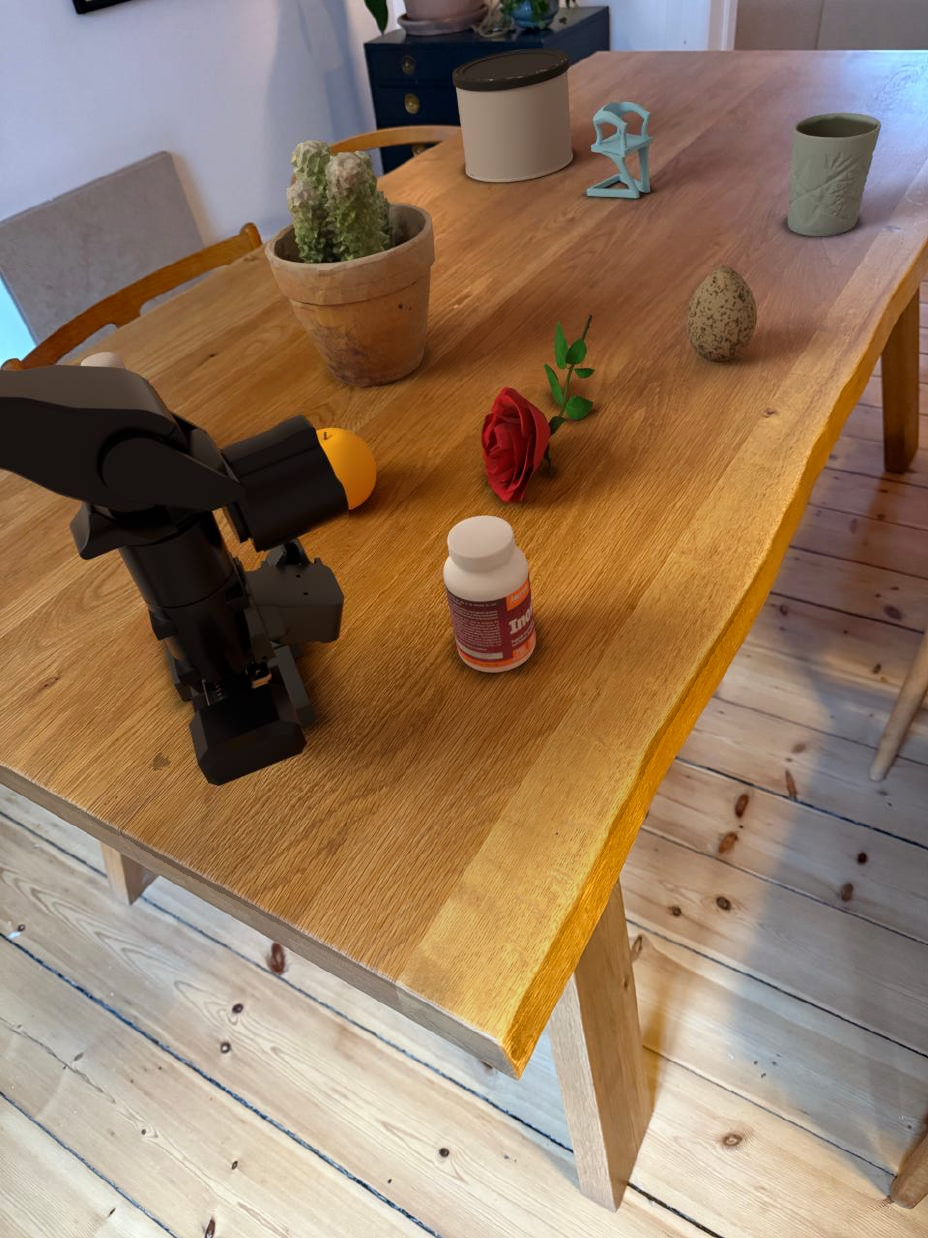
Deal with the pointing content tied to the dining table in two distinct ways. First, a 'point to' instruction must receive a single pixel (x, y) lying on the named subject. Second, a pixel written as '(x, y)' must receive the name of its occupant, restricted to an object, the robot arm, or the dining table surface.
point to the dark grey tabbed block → (291, 685)
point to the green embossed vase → (829, 171)
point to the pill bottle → (489, 595)
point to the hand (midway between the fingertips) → (263, 739)
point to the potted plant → (354, 267)
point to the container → (515, 114)
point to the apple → (350, 463)
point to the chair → (622, 150)
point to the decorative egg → (721, 315)
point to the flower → (530, 424)
